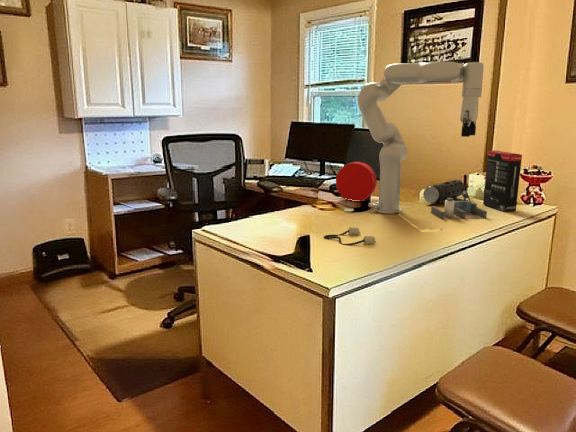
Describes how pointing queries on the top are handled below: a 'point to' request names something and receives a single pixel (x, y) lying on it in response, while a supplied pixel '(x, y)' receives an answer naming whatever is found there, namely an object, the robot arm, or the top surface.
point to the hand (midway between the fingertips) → (468, 135)
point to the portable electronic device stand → (465, 195)
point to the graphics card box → (502, 180)
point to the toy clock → (356, 181)
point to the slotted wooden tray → (462, 211)
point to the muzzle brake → (443, 191)
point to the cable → (353, 231)
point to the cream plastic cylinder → (449, 207)
